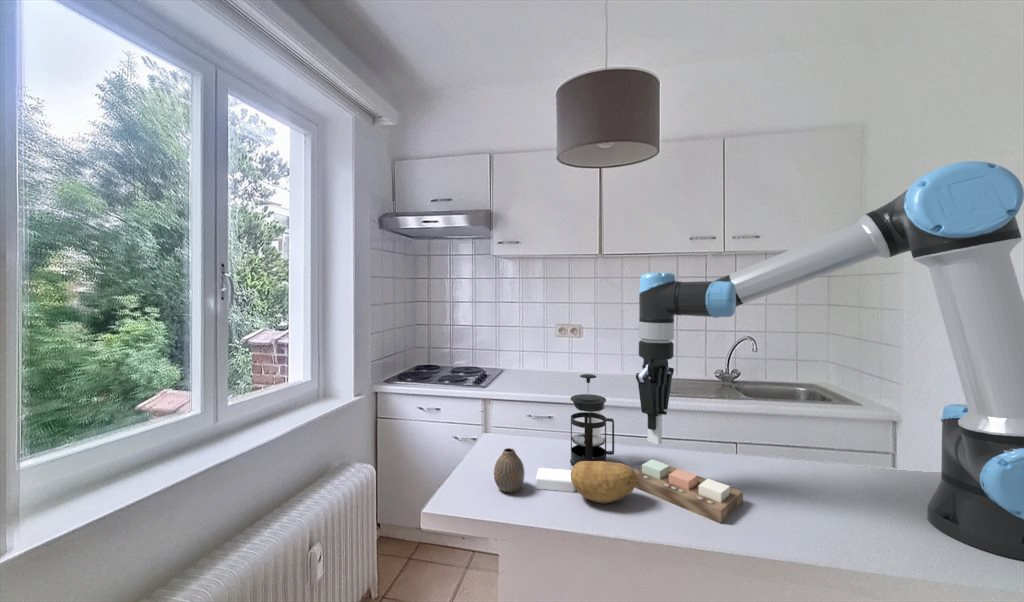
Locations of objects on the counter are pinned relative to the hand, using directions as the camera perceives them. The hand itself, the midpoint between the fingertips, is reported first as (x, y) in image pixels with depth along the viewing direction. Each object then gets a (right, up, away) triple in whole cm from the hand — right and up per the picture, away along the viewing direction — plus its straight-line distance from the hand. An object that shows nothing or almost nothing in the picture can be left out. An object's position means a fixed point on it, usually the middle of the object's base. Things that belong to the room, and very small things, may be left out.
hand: (654, 442), depth 92 cm
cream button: (+9, -9, -10) cm, 16 cm away
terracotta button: (+5, -8, -5) cm, 11 cm away
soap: (-23, -10, 0) cm, 25 cm away
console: (+5, -10, -5) cm, 12 cm away
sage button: (0, -8, 0) cm, 8 cm away
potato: (-13, -10, -7) cm, 18 cm away
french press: (-13, -10, +11) cm, 19 cm away
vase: (-33, -10, -2) cm, 35 cm away
